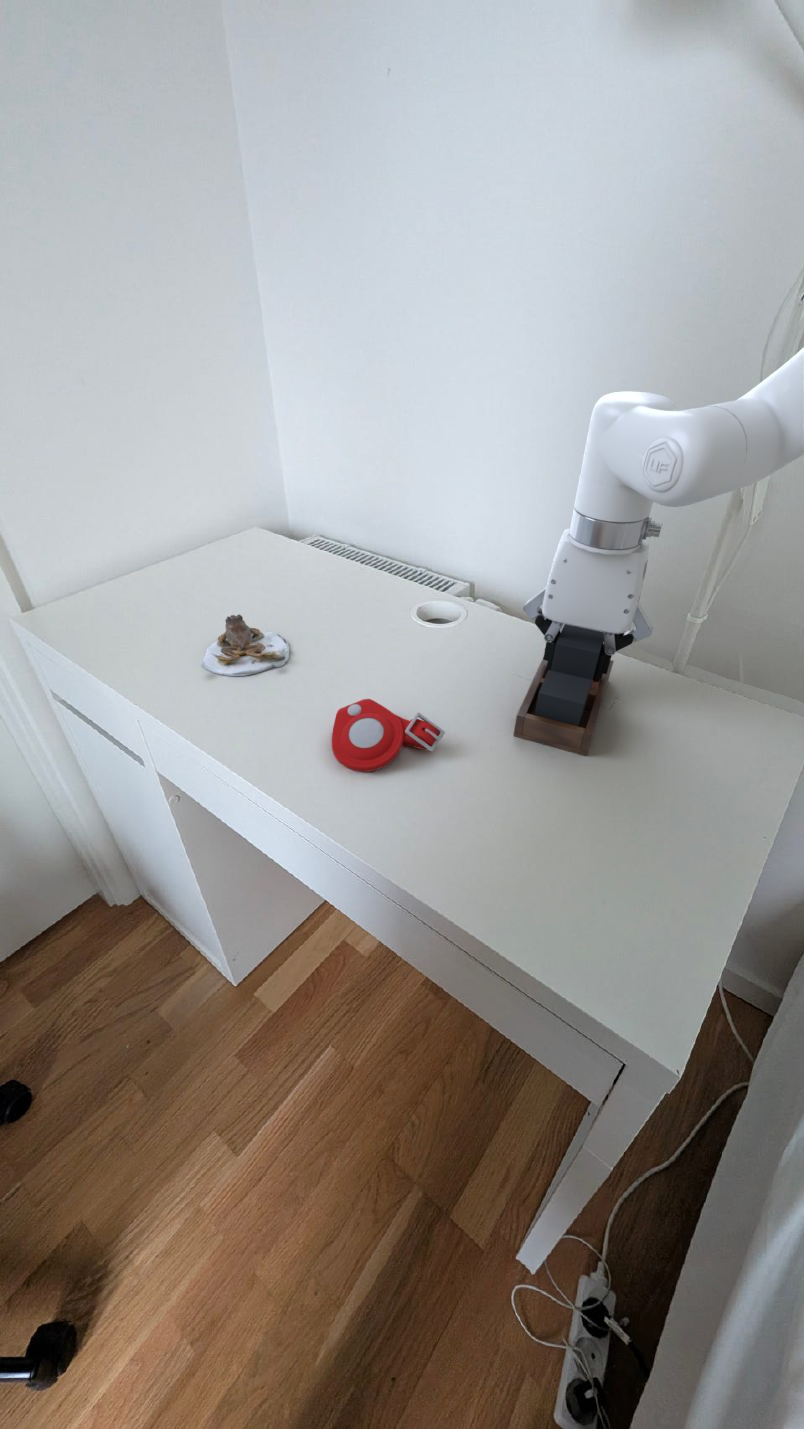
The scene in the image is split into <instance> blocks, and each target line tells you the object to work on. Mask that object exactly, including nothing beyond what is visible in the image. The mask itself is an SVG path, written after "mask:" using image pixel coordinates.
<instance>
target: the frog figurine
mask: <svg viewBox="0 0 804 1429" xmlns="http://www.w3.org/2000/svg"><path fill="white" fill-rule="evenodd" d="M224 622H225V632H224V633H223V634H221V635H219V636H218V637H217V639H216V640H215V641H213V643H212V644H211V645H210V646H209V647H207V648H206V652H205V655H204V656H203V660H202V663H201V666H203V668H204V669H205V670H207V671H209V672H212V673H213V674H216V675H220V676H225V677H226V676H227V677H245V676H250V675H255V674H259V673H262V672H266V671H267V670H270V669H273V668H275V669H276V668H277V669H278V668H282V667H284V666H285V664H286V663H287V662H288V661H289V659H290V656H291V653H290V645H289V644H288V641H287V640H286V639H285V638H284V637H282V636H281V635H280V634H279V633H275V632H271V631H264V630H260V629H259V628H255V627H250V626H249V625H247V624H246V621H245V620H244V617H243V615H242V614H237V615H235V614H231V615H230V616H226V618H225V621H224Z"/></svg>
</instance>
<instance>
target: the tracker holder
mask: <svg viewBox="0 0 804 1429" xmlns="http://www.w3.org/2000/svg"><path fill="white" fill-rule="evenodd" d="M445 733H446V732H445V730H443V729H442V728H441V727H439V726H438V725H437V724H435V723H434V722H432V720H430V719H428V718H427V717H426V716H424V715H423V714H422V713H420V712H416V714H415V715H414V717H413V718H412V719H410V720H408V719H406V718H403V717H401V716H399V715H397V714H395V713H394V712H392V711H391V710H390V709H388V708H386V707H385V706H383V705H382V704H380V703H378V702H377V701H375V700H373V699H371V698H363V699H361V700H358V701H356V702H353V703H351V704H348V705H346V706H343V707H340V708H339V709H338V710H337V712H336V714H335V717H334V722H333V727H332V733H331V750H332V754H333V755H334V757H335V759H336V761H337V762H338V763H339V764H340V765H341V766H343V767H345V768H347V769H349V770H352V771H355V772H373V771H376V770H379V769H382V768H383V767H386V766H387V765H389V764H390V763H391V762H393V760H394V759H395V758H396V757H397V756H398V754H399V753H400V750H402V746H403V744H404V745H407V746H411V747H414V748H417V749H421V750H426V751H430V752H432V753H433V752H434V751H435V750H436V748H437V746H438V744H439V743H440V741H442V738H443V737H444V735H445Z"/></svg>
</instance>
